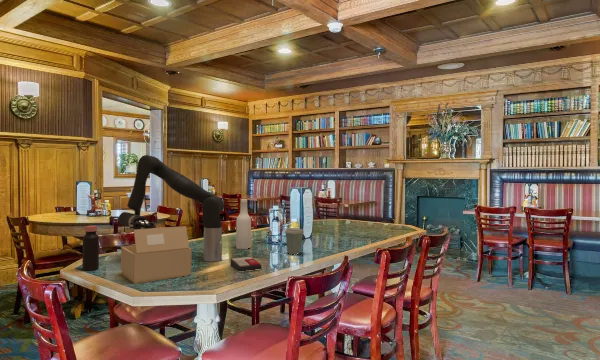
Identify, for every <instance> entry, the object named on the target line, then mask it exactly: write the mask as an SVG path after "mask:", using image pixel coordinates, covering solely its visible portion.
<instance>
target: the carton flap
mask: <svg viewBox="0 0 600 360" xmlns="http://www.w3.org/2000/svg"><path fill="white" fill-rule="evenodd" d="M133 235H134V243H135V245H136V253H145V252H155V251H165V250H174V249H184V248H189V247H190V243H189V238H188V237H189V236H188V229H187V226H185V225H184V226H182V225H181V226H169V227H153V228H150V229H137V230H134V229H133ZM135 245H134V246H135Z"/></svg>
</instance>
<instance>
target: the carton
mask: <svg viewBox="0 0 600 360" xmlns="http://www.w3.org/2000/svg"><path fill="white" fill-rule="evenodd" d="M120 250H121V251H120V270H121V274H122V275H123V276H124V277H125V278H127V279H128V280H129V281H130V282H132V283H133V284H135V285H136V284H142V283H149V281H150V282H155V281H156V280H157V281H162V279H163V280H170V279H176V278H175V277H177V278H183V277H182V276H184V277H189V276H188V275H191V276H192V274H191V272H192V263H193V261H192V259H193V258H192V257H193V256H192V252H193V248H191V247H190V246H189V248H184V249H174V250H165V251H155V252H145V253H136V245H127V246H126V245H125V246H121V247H120ZM169 278H170V279H169Z"/></svg>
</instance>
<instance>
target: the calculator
mask: <svg viewBox="0 0 600 360" xmlns="http://www.w3.org/2000/svg"><path fill="white" fill-rule="evenodd" d="M232 266H233V267H234V268H235V269H237V270H238V271H246V270H255V269H261V270H262V264H261V263H260V262H258V261H257V260H256V259H255V258H254V257H252V256H249V257H235V258H230V267H232ZM233 267H232V268H233ZM234 268H233V269H234ZM235 269H234V270H235ZM237 270H236V271H237ZM238 271H237V272H238Z"/></svg>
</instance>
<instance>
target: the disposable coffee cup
mask: <svg viewBox="0 0 600 360" xmlns="http://www.w3.org/2000/svg"><path fill="white" fill-rule="evenodd" d="M284 231H285V232H284V233H285V241H286V251H287V254H288V253H289V254H297V253H299V254H300V253H301V247H302V240H303V236H304V230H303V228H296V227H286V228H285V230H284ZM289 254H288V255H289Z"/></svg>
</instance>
